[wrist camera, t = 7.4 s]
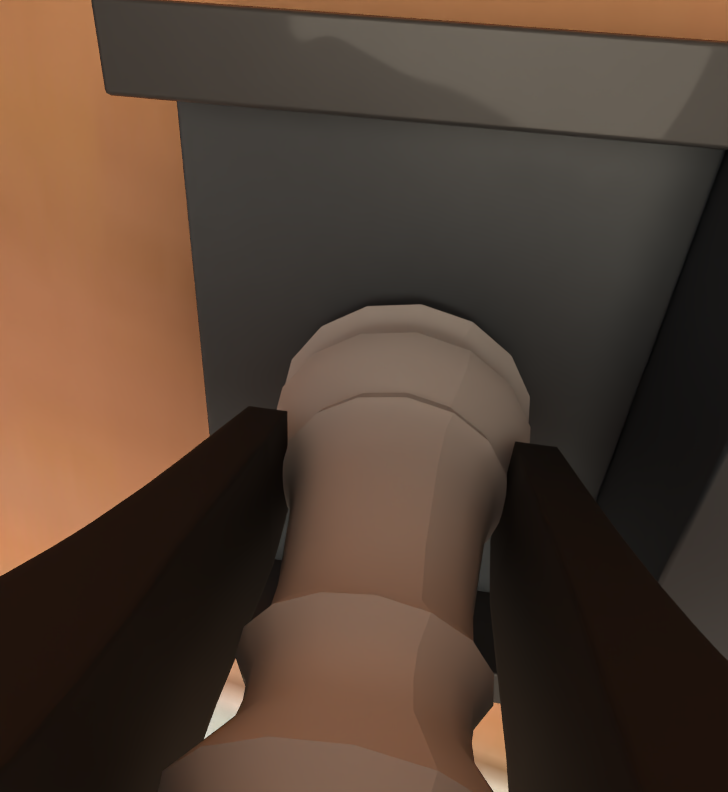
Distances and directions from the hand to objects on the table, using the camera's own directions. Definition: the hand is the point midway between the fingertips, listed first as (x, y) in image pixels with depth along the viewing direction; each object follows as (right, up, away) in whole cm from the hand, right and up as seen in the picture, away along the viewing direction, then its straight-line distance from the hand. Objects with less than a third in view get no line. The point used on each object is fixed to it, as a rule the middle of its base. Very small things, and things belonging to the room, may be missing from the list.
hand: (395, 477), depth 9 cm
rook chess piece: (0, +1, +2) cm, 2 cm away
